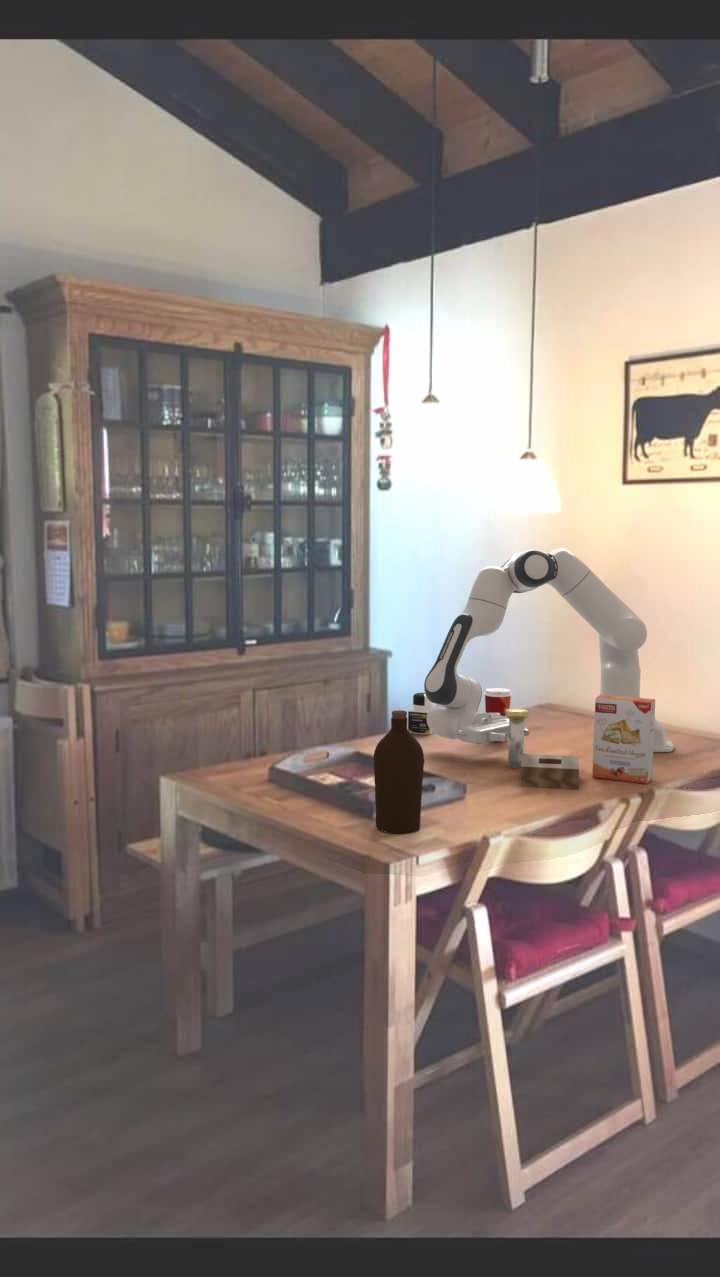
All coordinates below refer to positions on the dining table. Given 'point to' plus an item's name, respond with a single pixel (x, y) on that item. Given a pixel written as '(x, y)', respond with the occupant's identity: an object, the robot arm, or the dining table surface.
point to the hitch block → (550, 771)
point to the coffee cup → (497, 701)
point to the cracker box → (623, 738)
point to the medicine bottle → (419, 715)
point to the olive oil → (398, 778)
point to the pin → (516, 736)
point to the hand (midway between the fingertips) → (517, 735)
